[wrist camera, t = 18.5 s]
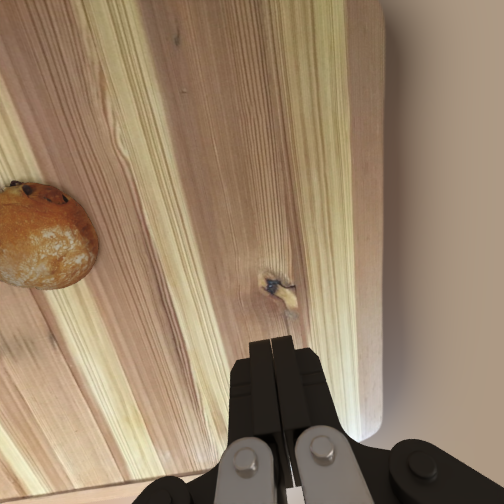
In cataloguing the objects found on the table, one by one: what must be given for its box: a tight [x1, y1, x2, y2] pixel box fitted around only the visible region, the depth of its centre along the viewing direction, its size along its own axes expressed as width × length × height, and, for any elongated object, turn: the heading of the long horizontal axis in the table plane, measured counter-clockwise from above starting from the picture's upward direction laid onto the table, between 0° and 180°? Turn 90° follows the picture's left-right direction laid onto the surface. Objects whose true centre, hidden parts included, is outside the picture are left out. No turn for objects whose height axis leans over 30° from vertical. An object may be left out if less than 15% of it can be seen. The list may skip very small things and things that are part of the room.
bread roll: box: [0, 180, 99, 290], centre depth 30 cm, size 10×10×8 cm
